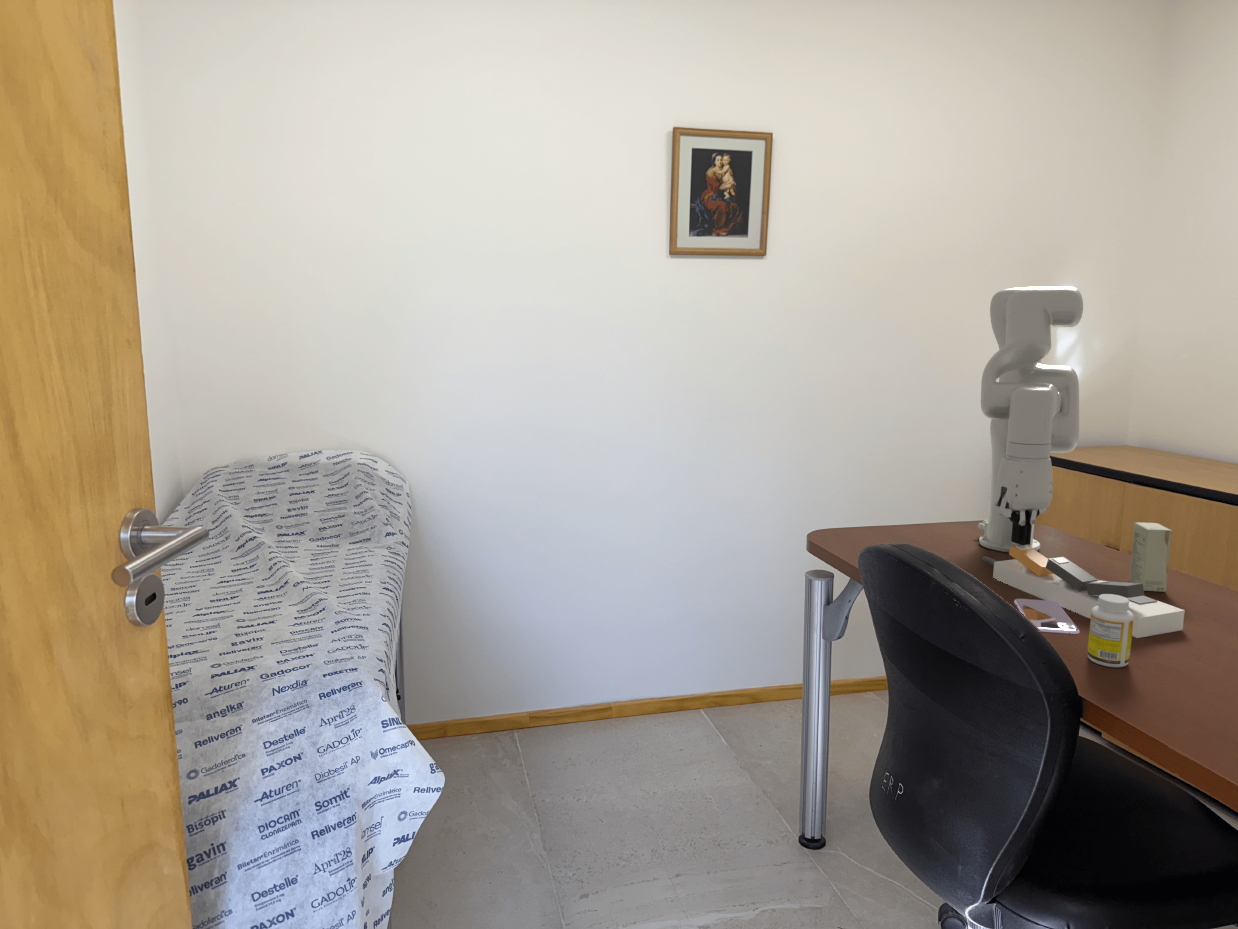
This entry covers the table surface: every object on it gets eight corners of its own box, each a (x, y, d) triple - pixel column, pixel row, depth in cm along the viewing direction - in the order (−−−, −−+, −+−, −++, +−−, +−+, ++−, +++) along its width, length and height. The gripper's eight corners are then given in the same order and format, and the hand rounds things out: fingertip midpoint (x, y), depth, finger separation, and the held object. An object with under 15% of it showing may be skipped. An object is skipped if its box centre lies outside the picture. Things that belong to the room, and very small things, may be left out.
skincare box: (1166, 592, 152) (1174, 530, 149) (1141, 591, 152) (1148, 529, 150) (1151, 581, 158) (1158, 522, 155) (1127, 580, 159) (1133, 521, 156)
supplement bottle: (1111, 652, 126) (1118, 591, 124) (1137, 667, 120) (1144, 603, 119) (1078, 654, 125) (1084, 592, 124) (1102, 670, 120) (1109, 605, 118)
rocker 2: (1045, 567, 149) (1048, 557, 148) (1060, 565, 150) (1063, 555, 149) (1079, 591, 142) (1082, 581, 141) (1094, 589, 143) (1098, 579, 142)
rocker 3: (1087, 594, 141) (1086, 582, 141) (1103, 592, 142) (1101, 580, 142) (1128, 597, 133) (1126, 585, 133) (1144, 595, 134) (1142, 582, 134)
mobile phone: (1057, 599, 147) (1081, 630, 133) (1057, 605, 147) (1081, 636, 133) (1012, 596, 149) (1031, 627, 135) (1012, 601, 149) (1031, 632, 135)
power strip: (964, 567, 169) (966, 546, 168) (1003, 561, 172) (1004, 541, 171) (1137, 638, 131) (1140, 611, 130) (1182, 630, 134) (1185, 604, 133)
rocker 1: (1008, 554, 158) (1011, 544, 157) (1023, 552, 159) (1026, 543, 158) (1039, 576, 151) (1042, 566, 150) (1053, 574, 152) (1057, 564, 151)
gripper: (1043, 446, 159) (1035, 535, 162) (981, 450, 155) (975, 542, 158) (1074, 451, 152) (1066, 544, 155) (1011, 456, 148) (1004, 552, 151)
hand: (1020, 543), depth 157 cm, fingers closed
